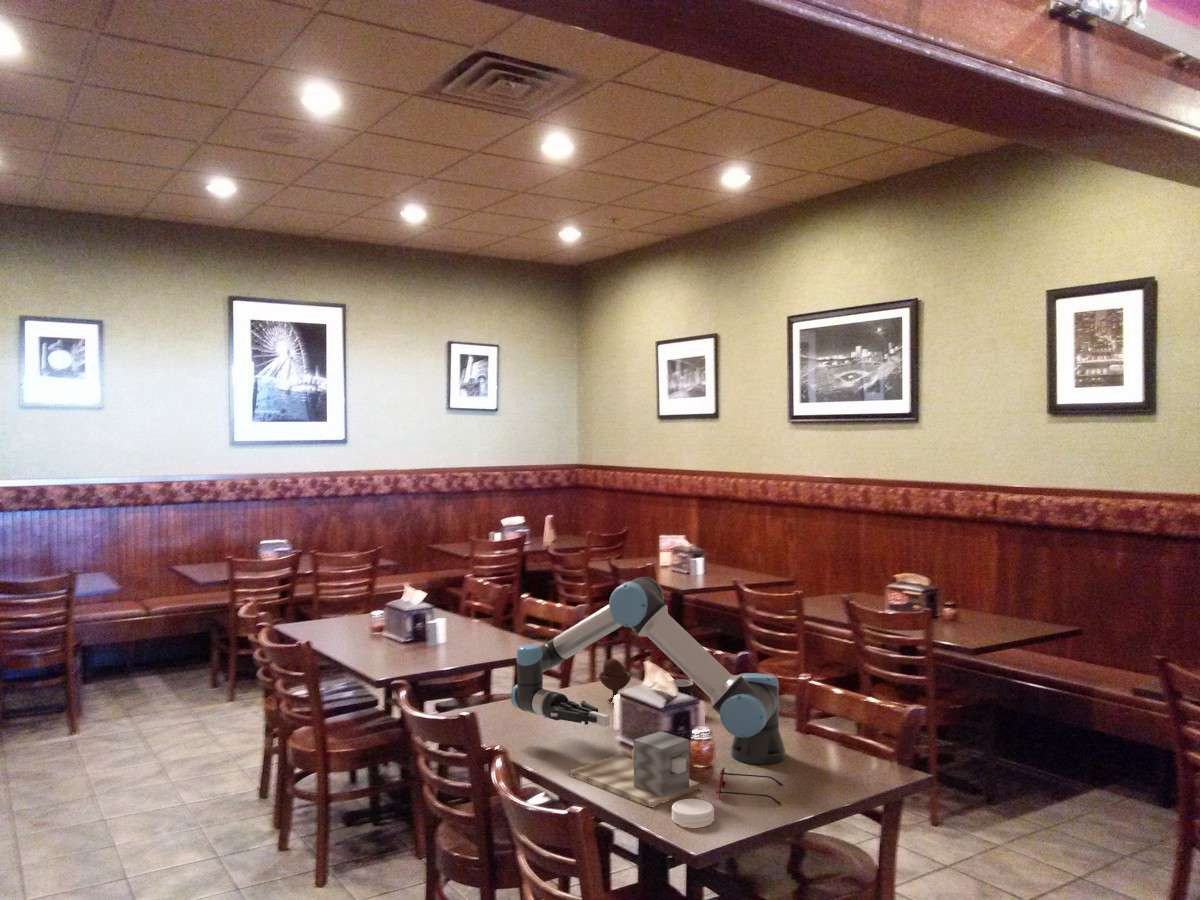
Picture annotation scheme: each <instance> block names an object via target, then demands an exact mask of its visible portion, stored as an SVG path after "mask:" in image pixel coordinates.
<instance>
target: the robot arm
mask: <svg viewBox="0 0 1200 900" xmlns="http://www.w3.org/2000/svg"><path fill="white" fill-rule="evenodd" d="M664 599H665V598H664V591H663V588H662V587H661V584H659V582H657V580H655V579H653V578H651V577H647V576H641V577H636V578H634V579H632V580H630V581H626V582H623V583H622V584H620V585H619V586H617V587H616V588H614V590H613V591H612V593H611V594H610V597H609V603H608V604H607V605H604V607H602V608H600V609H598V610H597V611H596V612H594V613H592V614H591V615H589V616H588V617H586V618H584V619H582V620H581V621H579V622H578V623H576V624H575V625H573V626H571V627H569V628H568V629H566V630H565V631H563V632H561V633H560V634H558V635H556V636H555V637H554V638H552V639H550V640H548V641H547V642H545V643H543V644H542V645H540V644H535V643H527V644H522V645H520V646H518V647H517V649H516V671H517V673H516V674H517V675H516V676H517V678H516V679H517V684H515V685H514V686H513V688H512V691H511V693H510V702H511V704H512V706H514V707H515V708H516V709H519V710H520V711H523V712H528V713H531V714H535V715H537V716H541V717H543V718H544V719H551V720H554V721H561V720H562V721H566V722H571V723H572V722H573V723H578V724H582V723H583V722H584V725H586V726H587V725H589V723H591V724H594V725H595V724H596V725H599V726H602V727H609V726H610V715H608V714H605V713H601V712H599V708H598V707H596V706H594V705H591V704H590V703H587V702H586V701H585V700H582V701H580V702H579V703H576V702H575V701H572V700H569V698H568V696H566V695H565V694H563V693H561V692H556V691H554V690H549V689H546V688H544V686H543V685H544V684H543V683H544V677H543V676H544V672H546V671H548V670H550V669H552V668H554V667H557V666H559V665H561V663H563V662H564V661H566V660H567V659H569V658H571V657H572V656H573V655H576V654H578V653H579V652H580V651H582V650H584V649H586V648H587V647H589V646H591V645H592V644H594V643H596V642H598V641H599V640H601V639H602V638H604V637H605V636H607V635H609V634H610V633H612V632H614V631H617V629H620V628H621V627H625V628H630V629H632V631H633V632H634V633H636V635H637V636H638V637H647V638H649V640H650V641H652V643H654V645H655V646H657V647H658V648H659V650H661V651H662V652H663V653H664V655H666V656H667V657H668V658H669V659H670V660H671V661H672V662H673V663H674V664H675V665H676V666H677V667H678V668H679V669H681V671H683V673H684V674H685V675H686V676H687V677H688V678H689V679H690V681H692V682H693V683H695V685H696V686H698V688H700V689H701V690H702V691H703V692H704V693H705V695H707V697H709V698H710V705H711V706H710V707H711V708H712V709H713V710H714V711H715V712H716V713H717V714H718V715H719V718H720V722H721V725H722V726H723V728H724V729H725V730H726V731H727V732H728V733H730V735H733V736H734V737H733V740H732V743H731V747H730V749H731V750H730V752H731V753H730V755H731V757H732V758H733V759H734V760H737V761H739V762H743V763H746V764H752V765H773V764H777V763H780V762H782V761H784V760H785V759H786V748H785V744H784V741H783V738H782V735H781V732H780V727H779V726H780V725H779V723H780V722H779V721H780V718H779V717H780V716H779V714H780V712H779V711H780V709H779V708H780V707H779V705H780V704H779V703H780V702H779V701H780V699H779V694H780V693H779V690H780V686H779V679H778V677H777V676H775V675H771V674H766V673H757V672H752V673H751V672H749V673H748V672H745V673H740V674H738V675H737V674H736V675H734V674H732V673H730V671H729V670H728V669H726V668H725V667H724V666H723V665H722V664H721V663H720V662H719V661H718V660H717V659H716V658H715V657H714V656H713V655H712V654H711V653H709V651H707V649H706V648H704V646H702V645H701V644H700V643H699V642H698V641H697V640H696V639H695V638H694V637H693V636H692V635H691V634H690V633H689V632H687V630H685V629H684V628H683V627H682V626H681V624H679V623H678V622H677V621H676V620H675V619H674V618H673V617H672V616H671V615H670V614H669V612H668V610H669V609H668V607H669V606H668V605H667V604H666V602H664Z"/></svg>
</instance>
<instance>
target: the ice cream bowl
mask: <svg viewBox="0 0 1200 900" xmlns="http://www.w3.org/2000/svg"><path fill="white" fill-rule="evenodd" d="M598 676H599V680H600V682H601V684H602V685H603V686H604V687H605V688H607V689H609V690H610V691H611V692H612V696H611V697H610V698H609V699H608V700H607V701H609V702H610V703H611V702H612V700H613V697H614V695H616V694H617V693H619V691H620V690H622V689H623V688H625V687H626V686H627V685H628V684H629V683H630V681H631V678H632V674H631V673H630V672H629V671H626V668H625V666H624V665H623V664H622V663H621V662H620V661H619V660H618V659H616V658H610V659H607V660H606V661H605V662H604V664H603V669H602V672H601V673H599V674H598ZM610 703H609V704H610Z"/></svg>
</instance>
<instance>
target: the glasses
mask: <svg viewBox="0 0 1200 900" xmlns="http://www.w3.org/2000/svg"><path fill="white" fill-rule="evenodd" d="M719 775H720V776H719V782H718V790H716V791H715V793H716V794H718V799H719V798H720V799H721V795H722V794H728V795H730V794H731V795H742V796H743V795H744V796H758V797H765V798H766V797H767V798H769V799H770V800H772V801H774V802H775V803H776V804H777V805H779V804H782V803H781V802H780V801H778V800H777V799H776V798H774V797H773V796H771V795H769V794H762V793H761V794H759V793H747V792H746V793H745V792H733V791H732V792H731V791H722V789H725V787H726V781H725V780H724V779H725V777H724V776H725V775H726V776H727V775H729V776H741V777H756V778H767V779H771V780H772V781H774V782H775V783H777V784H778V785H779V786H781V785H783V786H784V784H783V783H781V782H780V781H778V780H777V779H775V777H772V776H769V775H768V776H767V775H758V774H743V773H731V772H730V773H729V772H725V767H724V766H723V767H722V769H721V771H720V772H719Z"/></svg>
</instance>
